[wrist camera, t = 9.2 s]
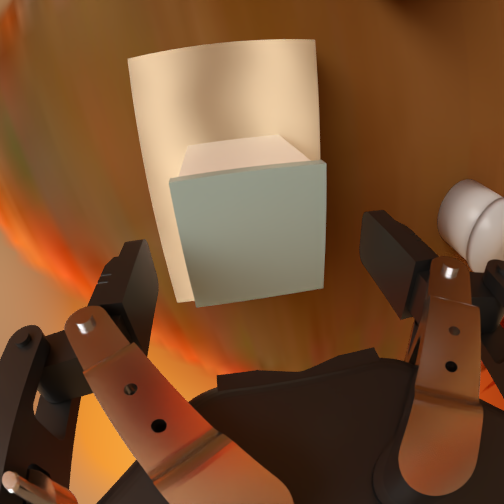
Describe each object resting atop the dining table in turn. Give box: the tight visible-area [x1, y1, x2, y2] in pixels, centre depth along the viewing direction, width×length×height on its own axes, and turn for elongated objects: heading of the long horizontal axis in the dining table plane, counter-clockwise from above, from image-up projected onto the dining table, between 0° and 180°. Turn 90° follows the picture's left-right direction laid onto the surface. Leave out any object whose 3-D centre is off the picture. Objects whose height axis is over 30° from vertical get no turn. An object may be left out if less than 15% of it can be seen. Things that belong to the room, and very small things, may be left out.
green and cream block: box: [169, 135, 326, 307], centre depth 15 cm, size 5×5×7 cm
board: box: [128, 39, 320, 303], centre depth 19 cm, size 10×16×4 cm, turn 5°
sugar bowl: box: [437, 179, 504, 273], centre depth 23 cm, size 8×8×6 cm
